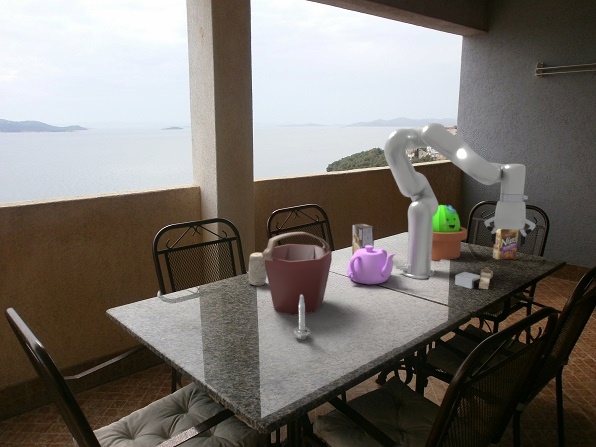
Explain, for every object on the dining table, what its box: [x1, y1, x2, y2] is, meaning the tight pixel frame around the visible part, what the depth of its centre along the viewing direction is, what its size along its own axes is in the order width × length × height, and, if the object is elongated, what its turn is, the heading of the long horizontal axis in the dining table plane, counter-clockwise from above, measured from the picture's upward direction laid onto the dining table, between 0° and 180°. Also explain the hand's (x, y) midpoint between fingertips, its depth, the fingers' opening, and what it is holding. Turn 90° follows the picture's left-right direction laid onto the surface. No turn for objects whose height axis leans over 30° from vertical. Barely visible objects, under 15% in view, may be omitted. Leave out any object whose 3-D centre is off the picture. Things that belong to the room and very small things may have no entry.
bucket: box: [261, 231, 333, 316], centre depth 148 cm, size 24×22×25 cm
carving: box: [247, 252, 268, 287], centre depth 170 cm, size 6×8×12 cm
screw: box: [293, 294, 311, 340], centre depth 124 cm, size 13×5×5 cm
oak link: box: [478, 266, 494, 290], centre depth 168 cm, size 18×4×3 cm, turn 153°
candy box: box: [492, 229, 520, 260], centre depth 199 cm, size 9×4×15 cm, turn 98°
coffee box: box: [351, 223, 375, 257], centre depth 201 cm, size 9×6×16 cm
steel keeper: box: [454, 271, 481, 289], centre depth 165 cm, size 6×6×4 cm
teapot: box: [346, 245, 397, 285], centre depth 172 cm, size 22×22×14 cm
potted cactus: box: [431, 204, 468, 262], centre depth 205 cm, size 22×22×25 cm
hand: (507, 244), depth 163 cm, fingers open, 8 cm apart
